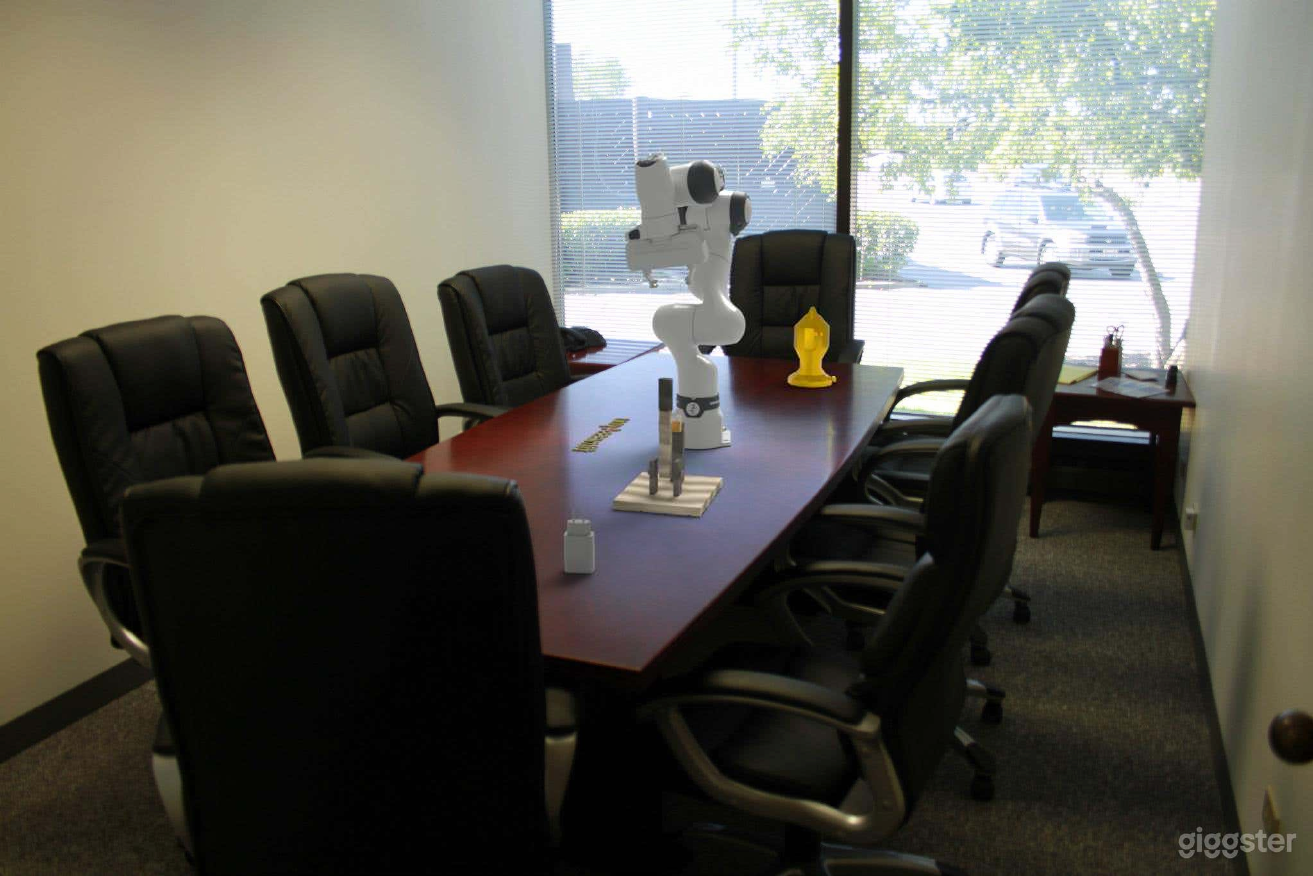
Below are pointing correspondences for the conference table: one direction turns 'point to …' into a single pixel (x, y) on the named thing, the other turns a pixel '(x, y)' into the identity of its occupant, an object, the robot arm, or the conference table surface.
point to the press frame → (669, 487)
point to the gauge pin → (677, 423)
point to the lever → (665, 426)
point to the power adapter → (579, 546)
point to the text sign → (610, 428)
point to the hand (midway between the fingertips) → (672, 285)
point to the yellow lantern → (811, 351)
